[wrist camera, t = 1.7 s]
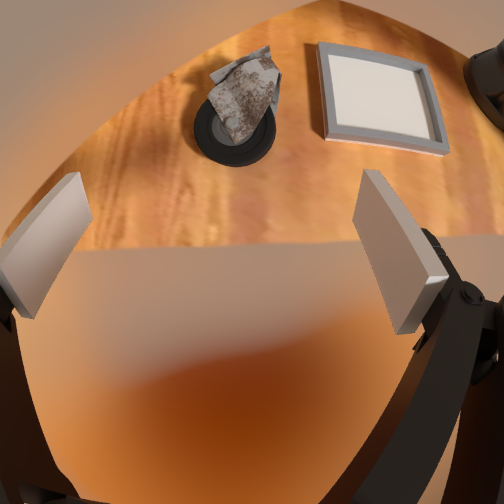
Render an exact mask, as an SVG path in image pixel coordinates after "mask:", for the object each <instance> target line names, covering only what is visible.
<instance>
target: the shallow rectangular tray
mask: <svg viewBox="0 0 504 504" xmlns="http://www.w3.org/2000/svg"><path fill="white" fill-rule="evenodd" d="M316 57H317V65H318V73H319V81H320V91H321V101H322V111H323V123H324V136H325V140H327V141H338V142H347V143H356V144H365V145H372V146H380V147H387V148H393V149H400V150H406V151H412V152H417V153H423V154H428V155H433V156H438V157H443V156H445V155H446V154H448V153H449V152H450V148H449V143H448V138H447V134H446V129H445V125H444V121H443V117H442V113H441V109H440V106H439V102H438V99H437V95H436V92H435V88H434V85H433V82H432V79H431V76H430V73H429V70H428V67H427V65H426V64H423V63H419V62H416V61H412V60H409V59H405V58H402V57H398V56H394V55H390V54H386V53H382V52H377V51H372V50H368V49H363V48H357V47H352V46H346V45H340V44H333V43H326V42H318V44H317V48H316Z"/></svg>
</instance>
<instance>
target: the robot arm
mask: <svg viewBox="0 0 504 504" xmlns="http://www.w3.org/2000/svg"><path fill="white" fill-rule="evenodd" d="M464 77H465V80H466V83H467V86H468V88H469V90H470V92H471V94H472V96H473V97H474V99H475V101H476V102H477V104H478V105H479V107H480V108H481V109H482V111H483V112H484V113H485V114H486V116H487V117H488V118H489V119H490V120H491V121H492V122H493V123H494V124H495V125H496V126H497V127H499V128H500V129H501V130H503V131H504V39H503V41H502V42H501V43H500V44H499V45H497V46H496V47H494V48H492V49H489V50H486V51H483V52H481V53H479V54H475V55H473V56H472V57H471V58H470V59H469V60H468V61H467V62H466V63H465V65H464ZM92 220H93V217H92V214H91V210H90V207H89V204H88V201H87V197H86V194H85V190H84V187H83V183H82V179H81V176H80V172H73V173H67V174H66V175H65V176H64V177H63V178H62V179H61V180H60V181H59V182H58V183H57V184H56V185H55V186H54V187H53V188H52V189H51V190H50V191H49V192H48V193H47V194H46V195H45V196H44V197H43V199H42V200H41V201H40V202H39V203H38V204H37V205H36V206H35V207H34V208H33V209H32V211H31V212H30V213H29V214H28V215H27V216H26V217H25V219H24V220H23V221H22V222H21V223H20V224H19V226H18V227H17V228H16V229H15V230H14V232H13V233H12V234H11V235H10V237H9V238H8V239H7V240H6V242H5V243H4V244H3V246H2V247H1V248H0V504H24V503H27V504H109V503H103V502H97V501H91V500H86V499H81V498H80V497H79V495H78V493H77V491H76V489H75V488H74V486H73V485H72V483H71V482H70V481H69V479H68V478H67V477H65V475H64V474H63V473H62V472H61V471H60V470H59V469H58V467H57V466H56V464H55V461H54V459H53V457H52V454H51V452H50V449H49V447H48V444H47V442H46V439H45V437H44V434H43V431H42V428H41V426H40V423H39V420H38V417H37V414H36V410H35V407H34V404H33V401H32V397H31V394H30V390H29V386H28V383H27V378H26V375H25V370H24V366H23V361H22V356H21V351H20V346H19V341H18V334H17V328H16V321H15V318H14V316H13V314H12V313H11V312H12V310H13V308H14V307H15V308H16V310H17V311H18V313H19V314H20V315H21V317H25V318H30V319H34V318H35V316H36V314H37V312H38V310H39V308H40V306H41V304H42V302H43V300H44V299H45V297H46V294H47V293H48V291H49V289H50V287H51V286H52V284H53V282H54V280H55V278H56V277H57V275H58V273H59V271H60V270H61V268H62V266H63V265H64V263H65V261H66V260H67V258H68V257H69V255H70V253H71V252H72V250H73V248H74V247H75V245H76V244H77V242H78V241H79V239H80V238H81V236H82V234H83V233H84V231H85V230H86V228H87V227H88V225H89V224H90V223H91V221H92ZM352 221H353V223H354V225H355V227H356V230H357V232H358V234H359V237H360V239H361V242H362V244H363V246H364V249H365V251H366V254H367V256H368V259H369V261H370V264H371V266H372V269H373V271H374V274H375V277H376V279H377V282H378V285H379V287H380V290H381V293H382V296H383V298H384V301H385V304H386V307H387V310H388V313H389V316H390V319H391V321H392V325H393V328H394V331H395V334H396V335H399V334H410V333H415V331H416V330H417V328H418V326H419V325H420V323H421V322H422V324H423V327H424V330H425V332H424V333H423V335H422V336H421V338H420V339H419V340H418V342H417V343H416V345H415V346H414V347H413V350H415V352H414V354H413V356H412V358H411V360H410V362H409V365H408V367H407V369H406V371H405V373H404V375H403V377H402V379H401V381H400V383H399V384H398V387H397V388H396V390H395V392H394V394H393V396H392V398H391V400H390V401H389V403H388V405H387V407H386V408H385V410H384V412H383V414H382V415H381V417H380V419H379V420H378V422H377V424H376V425H375V427H374V428H373V430H372V432H371V433H370V435H369V436H368V438H367V440H366V441H365V443H364V444H363V446H362V447H361V449H360V450H359V452H358V453H357V455H356V456H355V457H354V459H353V460H352V462H351V463H350V464H349V466H348V467H347V468H346V470H345V471H344V473H343V474H342V475H341V477H340V478H339V479H338V481H337V482H336V483H335V484H334V486H333V487H332V488H331V490H330V491H329V492H328V493H327V494H326V496H325V497H324V498H323V499H322V500H321V501H320V502H319V503H318V504H417V503H418V501H419V499H420V498H421V496H422V494H423V492H424V491H425V489H426V487H427V485H428V483H429V481H430V479H431V477H432V476H433V474H434V472H435V470H436V468H437V465H438V463H439V461H440V459H441V457H442V455H443V452H444V450H445V448H446V446H447V443H448V441H449V439H450V436H451V434H452V431H453V428H454V426H455V424H456V421H457V418H458V415H459V413H460V410H461V413H460V420H459V428H458V433H457V439H456V444H455V449H454V454H453V459H452V464H451V468H450V472H449V476H448V480H447V483H446V487H445V490H444V495H443V497H442V500H441V504H504V296H503V297H502V298H501V300H500V301H499V303H496V302H492V301H488V300H485V298H484V296H483V294H482V292H481V291H480V290H479V289H478V288H477V287H476V286H475V285H473V284H471V283H469V282H467V281H462V280H461V278H460V276H459V274H458V273H457V271H456V269H455V268H454V266H453V264H452V263H451V261H450V259H449V258H448V256H446V253H445V251H444V250H443V249H442V248H441V245H440V243H439V242H438V240H437V239H436V237H435V236H434V235H432V234H431V233H430V232H429V231H428V230H427V229H424V228H420V227H419V225H418V224H417V222H416V221H415V219H414V218H413V217H412V215H411V214H410V212H409V211H408V209H407V208H406V206H405V205H404V204H403V202H402V201H401V199H400V198H399V197H398V195H397V194H396V192H395V191H394V190H393V188H392V187H391V186H390V184H389V183H388V182H387V180H386V179H385V178H384V176H383V175H382V174H381V173H380V171H378V170H368V169H363V174H362V179H361V184H360V189H359V193H358V198H357V202H356V207H355V211H354V215H353V220H352ZM497 354H498V361H497Z"/></svg>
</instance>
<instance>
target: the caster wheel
mask: <svg viewBox="0 0 504 504" xmlns="http://www.w3.org/2000/svg"><path fill="white" fill-rule="evenodd" d="M209 76H210V78H211V79H212V81H213V82H214V84H215V85H216V86H215V87H214V88H213V89H211V91H210V92H209V93H208V95H207V97H208V99H207V100H206V101H205V102H204V103H203V104H202V106H201V107H200V109H199V111H198V112H197V115H196V118H195V121H194V135H195V139H196V142H197V145H198V146H199V148H200V149H201V150H202V152H203V153H204V154H205V155H206V156H207V157H209V158H210V159H212V160H214V161H216V162H217V163H219V164H222V165H225V166H230V167H242V166H247V165H250V164H253V163H255V162H257V161H258V160H260V159H261V158H262V157H264V156H265V155H266V154H267V152H268V151H269V150H270V148H271V146H272V144H273V142H274V139H275V135H276V123H275V115H276V111H277V107H278V102H279V92H280V82H281V77H282V74H281V72H280V71H279V69H278V68H277V66H276V65H275V64H274V62H273V61H272V60H271V54H270V47H269V46H265V47H263V48H261V49H258V50H256V51H254V52H252V53H250V54H248V55H246V56H244V57H242V58H240V59H238V60H236V61H234V62H232V63H230V64H228V65H226V66H224V67H222V68H220V69H219V70H217V71H215V72H213V73H211V74H210V75H209Z"/></svg>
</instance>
